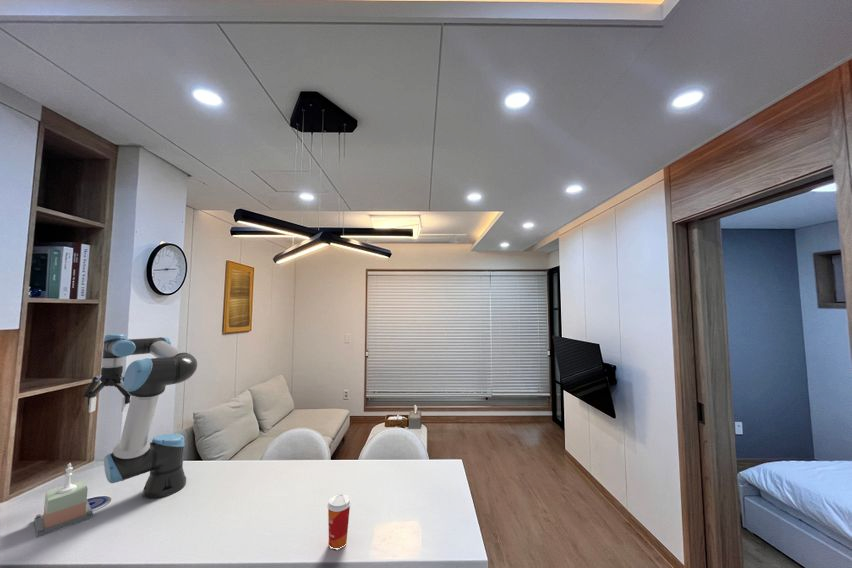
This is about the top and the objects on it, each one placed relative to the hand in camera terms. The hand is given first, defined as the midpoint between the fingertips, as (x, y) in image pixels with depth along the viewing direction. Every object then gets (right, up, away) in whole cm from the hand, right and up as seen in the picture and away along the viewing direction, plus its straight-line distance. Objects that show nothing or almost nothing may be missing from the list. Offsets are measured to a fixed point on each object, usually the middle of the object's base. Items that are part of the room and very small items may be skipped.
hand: (108, 411), depth 152 cm
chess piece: (+13, -19, -29) cm, 37 cm away
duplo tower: (+13, -30, -30) cm, 44 cm away
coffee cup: (+121, -32, -40) cm, 132 cm away
